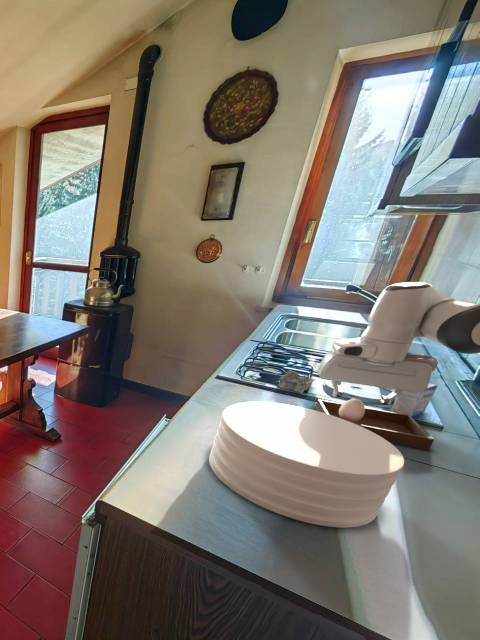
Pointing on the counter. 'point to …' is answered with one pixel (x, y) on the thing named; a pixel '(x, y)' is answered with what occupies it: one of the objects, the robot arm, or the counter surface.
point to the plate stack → (304, 463)
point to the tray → (386, 425)
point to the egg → (352, 410)
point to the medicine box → (413, 401)
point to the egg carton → (295, 382)
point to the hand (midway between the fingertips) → (359, 400)
